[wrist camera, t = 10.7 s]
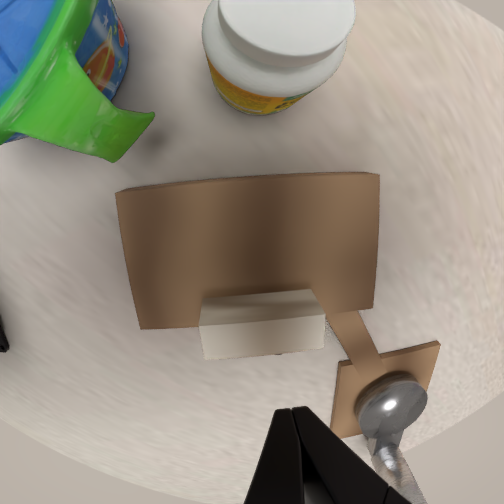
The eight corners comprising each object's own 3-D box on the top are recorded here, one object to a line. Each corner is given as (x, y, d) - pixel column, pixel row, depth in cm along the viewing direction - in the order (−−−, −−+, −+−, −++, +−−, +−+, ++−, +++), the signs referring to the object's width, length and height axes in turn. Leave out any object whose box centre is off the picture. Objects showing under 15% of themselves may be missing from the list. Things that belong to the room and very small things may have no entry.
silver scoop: (357, 385, 21) (417, 508, 10) (424, 365, 21) (499, 464, 11) (348, 458, 24) (383, 553, 14) (404, 441, 25) (448, 525, 14)
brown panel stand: (186, 449, 24) (183, 493, 19) (126, 188, 17) (92, 202, 12) (414, 414, 25) (435, 448, 20) (459, 174, 18) (508, 184, 13)
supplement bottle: (246, 16, 14) (264, -85, 5) (323, 65, 16) (405, 1, 7) (191, 85, 16) (154, 17, 6) (271, 135, 17) (319, 116, 8)
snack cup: (-19, 69, 13) (-115, 53, 3) (82, -39, 12) (18, -110, 2) (90, 217, 17) (-16, 281, 8) (221, 94, 16) (213, 23, 6)
